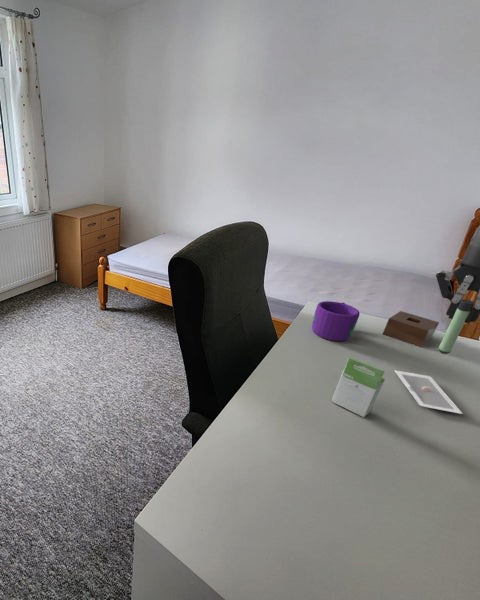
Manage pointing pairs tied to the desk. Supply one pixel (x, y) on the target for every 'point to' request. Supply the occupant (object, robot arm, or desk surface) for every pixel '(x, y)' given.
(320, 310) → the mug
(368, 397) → the ink box
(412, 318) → the pen stand
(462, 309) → the marker
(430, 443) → the desk surface
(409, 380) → the touchpad
